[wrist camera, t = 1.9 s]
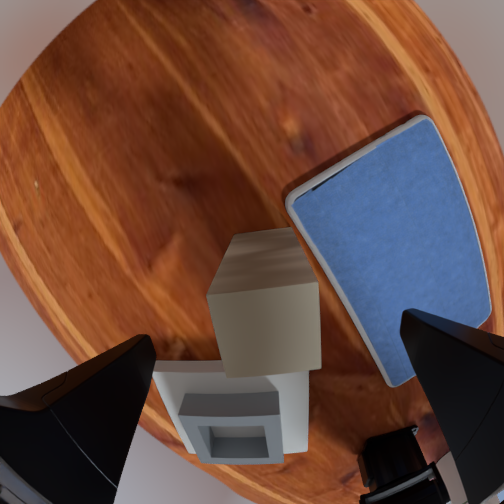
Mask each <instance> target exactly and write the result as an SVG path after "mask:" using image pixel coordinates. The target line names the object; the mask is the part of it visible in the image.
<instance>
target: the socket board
mask: <svg viewBox="0 0 504 504" xmlns="http://www.w3.org/2000/svg"><path fill="white" fill-rule="evenodd" d="M152 376H153V379H154V381H155V383H156V386H157V388H158V390H159V393H160V395H161V397H162V400H163V402H164V404H165V406H166V408H167V411H168V413H169V415H170V417H171V419H172V421H173V423H174V425H175V427H176V429H177V431H178V433H179V435H180V437H181V439H182V441H183V443H184V445H185V447H186V448H187V450H188V452H189V453H192V454H197V456H198V458H199V460H200V461H201V463H209V464H273V463H284V454H286V453H297V452H306V451H307V448H308V415H309V371H301V372H294V373H285V374H276V375H266V376H255V377H241V378H227V377H226V374H225V370H224V366H223V363H222V360H212V361H162V360H156V362H155V366H154V370H153V375H152Z"/></svg>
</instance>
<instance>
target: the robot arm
mask: <svg viewBox="0 0 504 504" xmlns="http://www.w3.org/2000/svg"><path fill="white" fill-rule="evenodd" d="M400 337H401V339H402V342H403V344H404V347H405V349H406V352H407V355H408V357H409V360H410V363H411V365H412V368H413V370H414V372H415V374H416V376H417V378H418V380H419V382H420V384H421V386H422V388H423V390H424V392H425V394H426V396H427V398H428V400H429V403H430V405H431V407H432V409H433V411H434V413H435V416H436V418H437V420H438V422H439V425H440V427H441V429H442V432H443V434H444V436H445V439H446V441H447V444H448V446H449V449H450V451H451V454H452V456H453V459H454V461H455V465H456V468H457V470H458V473H459V476H460V479H461V482H462V485H463V488H464V491H465V494H466V497H467V500H468V504H483V503H485V502H486V501H488V500H489V499H491V498H492V497H494V496H495V495H497V494H498V493H500V492H501V491H502V490H504V337H502V336H499V335H495V334H492V333H487V332H486V331H483V330H480V329H477V328H474V327H470V326H467V325H464V324H461V323H458V322H455V321H452V320H449V319H446V318H443V317H440V316H437V315H434V314H430V313H427V312H424V311H421V310H418V309H415V308H410V309H405V310H404V311H403V312H402V317H401V324H400ZM155 362H156V352H155V349H154V346H153V343H152V340H151V338H150V336H149V335H147V334H138V335H136V336H134V337H132V338H130V339H129V340H127V341H125V342H123V343H121V344H119V345H117V346H115V347H113V348H111V349H109V350H107V351H105V352H104V353H102V354H100V355H98V356H96V357H94V358H92V359H90V360H88V361H86V362H84V363H82V364H80V365H78V366H76V367H74V368H72V369H70V370H69V371H68V372H64V373H62V374H60V375H58V376H56V377H54V378H52V379H50V380H47V381H45V382H43V383H41V384H38V385H36V386H33V387H31V388H28V389H26V390H23V391H21V392H18V393H16V394H13V395H9V396H0V504H113V503H114V500H115V496H116V492H117V488H118V484H119V481H120V478H121V474H122V471H123V468H124V465H125V461H126V458H127V455H128V452H129V448H130V445H131V442H132V439H133V436H134V433H135V430H136V427H137V424H138V421H139V418H140V415H141V412H142V409H143V406H144V404H145V401H146V398H147V395H148V392H149V388H150V384H151V379H152V375H153V370H154V366H155ZM417 431H418V426H417V425H415V426H412V427H409V428H406V429H403V430H399V431H396V432H393V433H389V434H386V435H382V436H378V437H374V438H370V439H368V440H367V441H366V444H365V447H364V450H363V452H362V453H361V455H360V458H359V461H358V465H359V469H360V473H361V477H362V481H363V485H364V487H369V489H370V493H368V494H363V495H360V500H359V504H451V499H450V496H449V493H448V490H447V488H446V485H445V483H444V481H443V479H442V477H441V475H440V472H439V470H438V468H437V466H436V464H435V462H434V461H433V462H431V463H430V464H429V465H427V463H426V460H425V458H424V456H423V453H422V451H421V449H420V447H419V444H418V442H417V440H416V438H415V435H416V433H417ZM432 478H434V480H433V479H432ZM430 479H432V480H431V481H429V480H430ZM499 504H504V500H503V501H502V502H501V503H499Z"/></svg>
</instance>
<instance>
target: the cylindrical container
mask: <svg viewBox="0 0 504 504" xmlns="http://www.w3.org/2000/svg"><path fill="white" fill-rule="evenodd" d="M436 466H437V468H438V470H439V472H440V475H441V477H442V479H443V481H444V483H445V485H446V488H447V490H448V493H449V496H450V499H451V504H468V500H467V497H466V494H465V491H464V488H463V485H462V482H461V479H460V476H459V473H458V470H457V468H456V465H455V461H454V459H453V456H452V454H451V451H450V452H448V453H447V454H446V455H445V456H443V457H442V458H441V459H440V460H439V461H438V462H437V464H436ZM499 503H500V501H499V499H498V497H497V495H495V496H494V497H492V498H491V499H489V500H488V501H486V502H485V503H483V504H499Z"/></svg>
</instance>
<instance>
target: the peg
mask: <svg viewBox="0 0 504 504" xmlns="http://www.w3.org/2000/svg"><path fill="white" fill-rule="evenodd" d="M206 297H207V301H208V305H209V310H210V314H211V318H212V323H213V327H214V331H215V335H216V339H217V343H218V347H219V351H220V355H221V359H222V363H223V366H224V370H225V374H226V377H227V378H241V377H255V376H266V375H276V374H285V373H294V372H301V371H309V370H315V369H321V330H320V306H319V287H318V280H317V278H316V276H315V274H314V272H313V270H312V268H311V266H310V264H309V262H308V260H307V257H306V255H305V253H304V251H303V249H302V247H301V245H300V243H299V241H298V239H297V237H296V235H295V233H294V231H293V229H292V227H287V228H279V229H271V230H264V231H256V232H248V233H241V234H234V236H233V238H232V240H231V242H230V244H229V246H228V249H227V251H226V253H225V255H224V257H223V259H222V262H221V264H220V266H219V268H218V270H217V272H216V275H215V277H214V279H213V281H212V283H211V286H210V288H209V290H208V292H207V294H206Z"/></svg>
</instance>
